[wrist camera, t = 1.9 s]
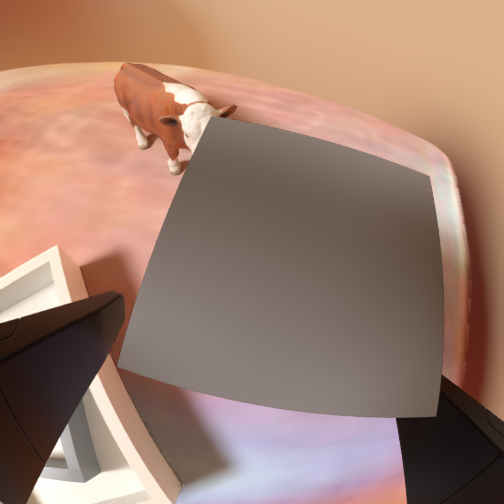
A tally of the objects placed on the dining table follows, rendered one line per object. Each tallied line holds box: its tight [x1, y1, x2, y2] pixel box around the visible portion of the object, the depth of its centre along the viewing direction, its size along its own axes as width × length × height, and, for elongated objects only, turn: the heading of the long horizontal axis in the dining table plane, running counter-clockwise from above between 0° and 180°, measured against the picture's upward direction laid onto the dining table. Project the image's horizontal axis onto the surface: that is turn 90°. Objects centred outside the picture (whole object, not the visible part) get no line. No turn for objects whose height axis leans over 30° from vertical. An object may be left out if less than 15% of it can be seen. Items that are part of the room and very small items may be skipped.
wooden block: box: [117, 116, 444, 418], centre depth 11 cm, size 5×5×14 cm
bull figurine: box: [114, 63, 237, 175], centre depth 19 cm, size 4×13×8 cm, turn 41°
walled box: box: [0, 245, 182, 504], centre depth 12 cm, size 16×14×4 cm
